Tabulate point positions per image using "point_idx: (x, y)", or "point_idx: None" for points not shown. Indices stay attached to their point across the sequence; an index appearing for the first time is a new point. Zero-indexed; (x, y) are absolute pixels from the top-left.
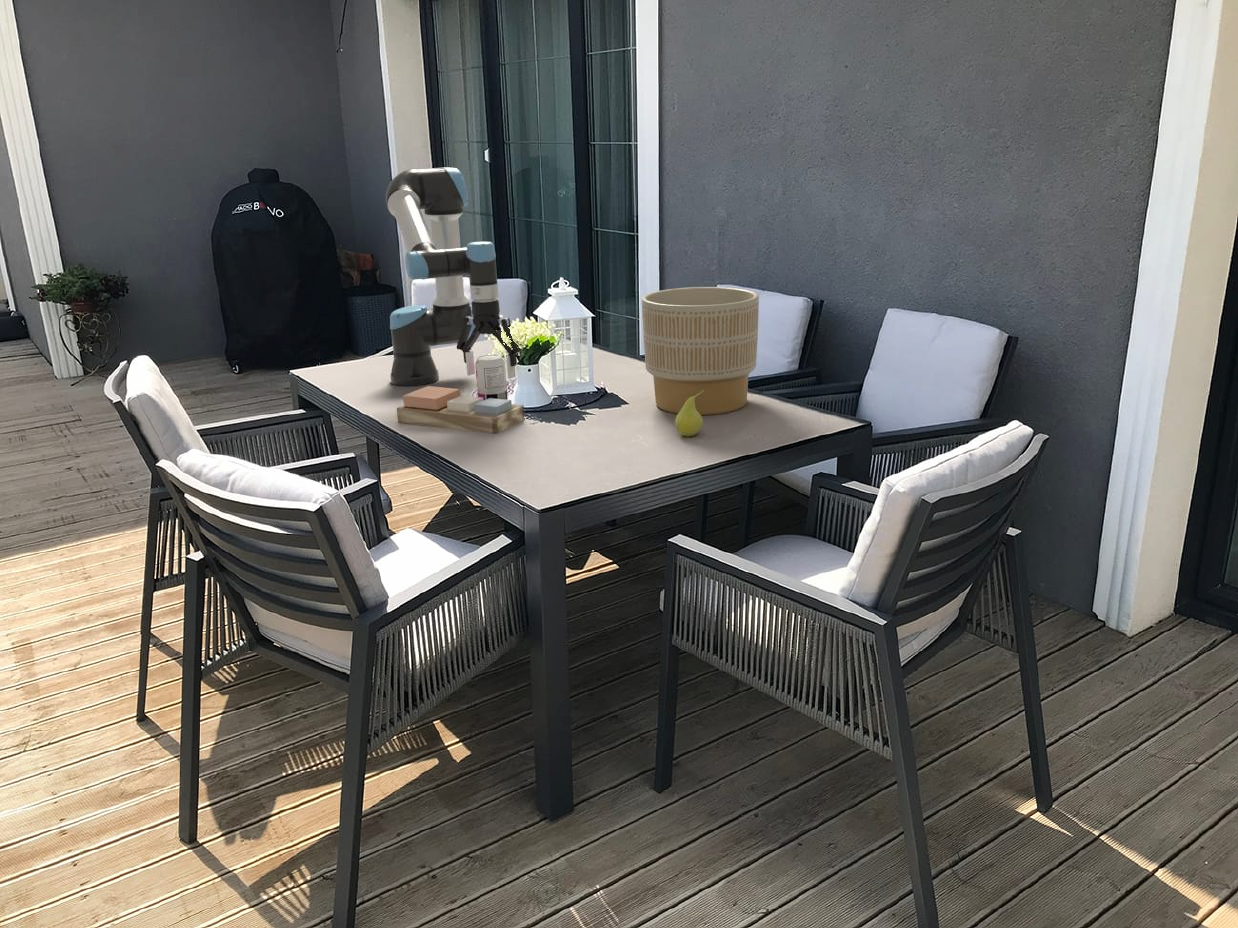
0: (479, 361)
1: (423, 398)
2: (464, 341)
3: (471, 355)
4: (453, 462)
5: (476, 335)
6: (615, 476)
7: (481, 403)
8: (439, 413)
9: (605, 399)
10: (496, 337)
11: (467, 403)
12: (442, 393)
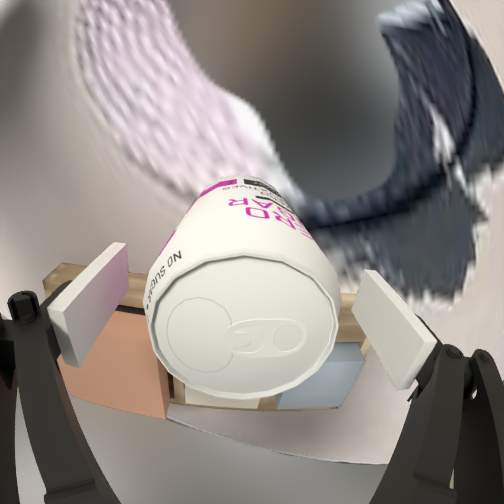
0: (209, 388)
1: (127, 410)
2: (2, 382)
3: (80, 315)
4: (305, 457)
5: (115, 499)
6: None
7: (291, 399)
8: (187, 404)
9: (484, 90)
10: (373, 500)
11: (252, 406)
12: (140, 383)
